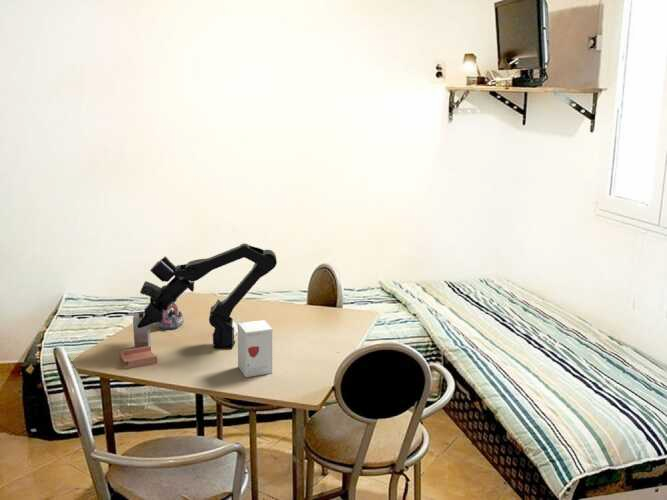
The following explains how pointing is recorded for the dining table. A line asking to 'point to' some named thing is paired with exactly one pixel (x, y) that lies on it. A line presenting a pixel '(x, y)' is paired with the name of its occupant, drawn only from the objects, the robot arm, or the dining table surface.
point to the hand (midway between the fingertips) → (140, 322)
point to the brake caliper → (171, 318)
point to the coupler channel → (137, 357)
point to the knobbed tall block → (141, 332)
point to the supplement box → (255, 348)
